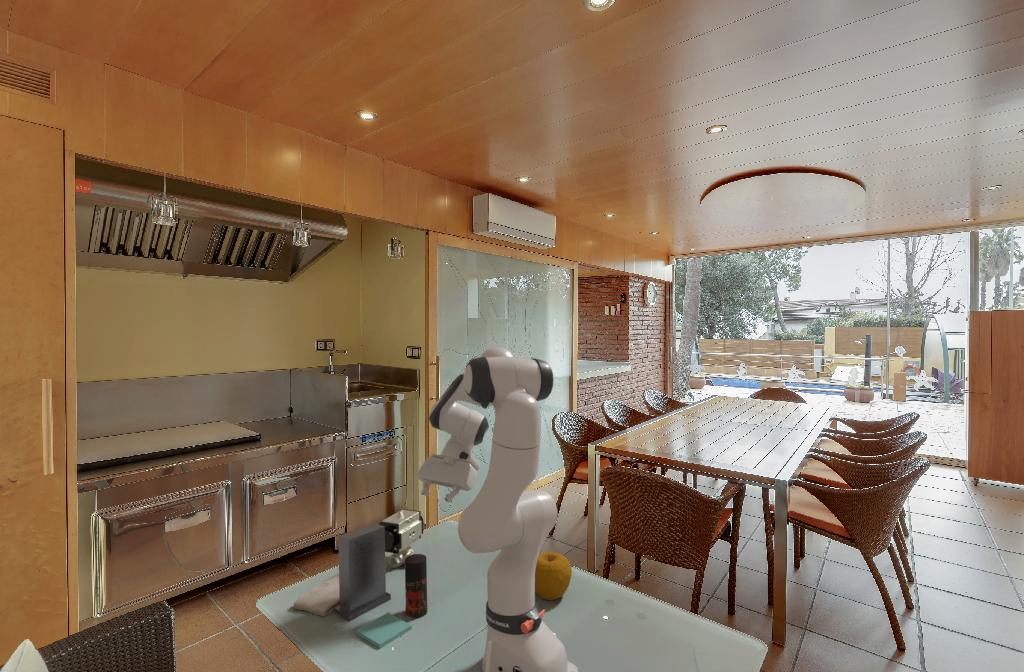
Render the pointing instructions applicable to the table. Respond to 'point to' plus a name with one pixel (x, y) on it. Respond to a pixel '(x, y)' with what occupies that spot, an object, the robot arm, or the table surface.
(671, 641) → the table surface
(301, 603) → the washcloth
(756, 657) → the table surface
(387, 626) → the plate
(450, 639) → the table surface
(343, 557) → the block
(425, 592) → the deodorant
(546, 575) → the apple
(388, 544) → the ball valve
